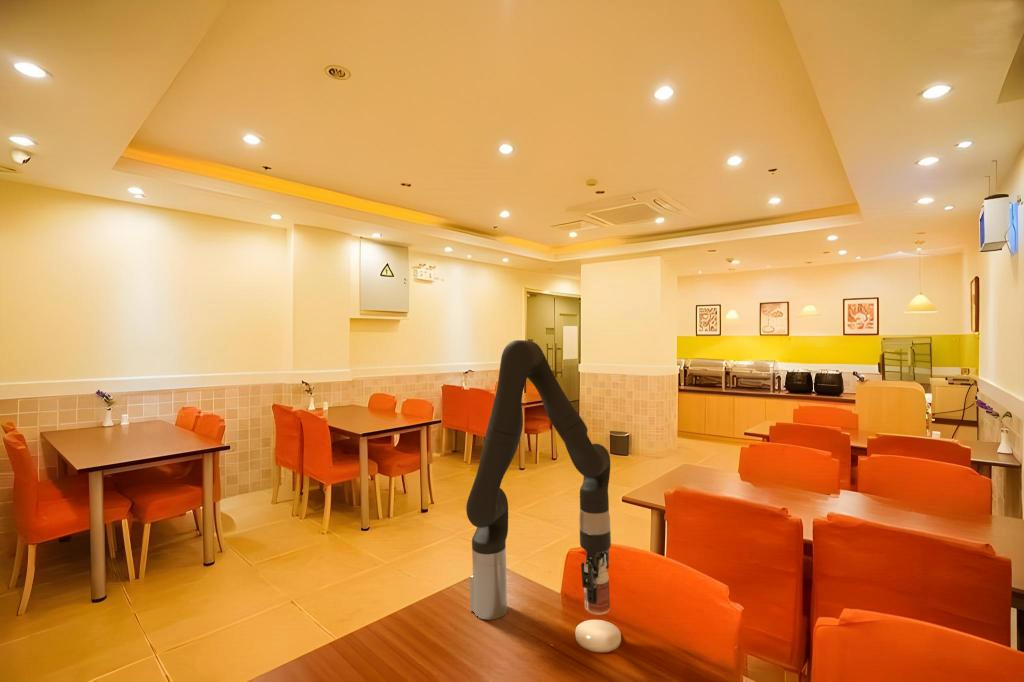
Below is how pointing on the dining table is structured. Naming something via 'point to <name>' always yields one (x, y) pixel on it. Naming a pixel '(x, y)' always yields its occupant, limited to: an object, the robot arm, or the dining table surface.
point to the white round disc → (598, 636)
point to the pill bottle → (600, 594)
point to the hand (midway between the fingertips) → (596, 595)
